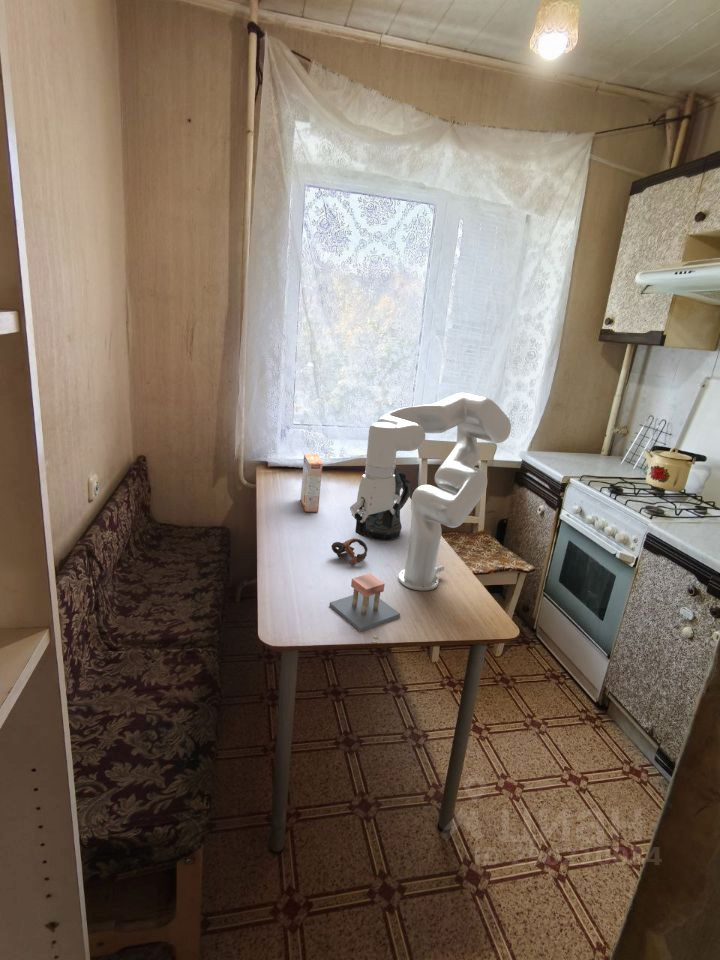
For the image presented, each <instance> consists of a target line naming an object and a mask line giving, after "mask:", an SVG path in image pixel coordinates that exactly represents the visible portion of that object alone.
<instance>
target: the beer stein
mask: <svg viewBox="0 0 720 960" xmlns="http://www.w3.org/2000/svg"><path fill="white" fill-rule="evenodd" d="M394 475H395V494H396V495H398V496H400V497H401V500H400V502H399V503H398V507H397V509H396V510H395V514H394V515H393V520H392V528H388V527H386V526H384V525H382V521H383V513H384V511H382V512H379V513H375V514H370V515H368V517H367V518H366V520H365V521H364V522H366V529H365V536H364V537H367V538H369V539H373V540H378V541H391V540H394V539H397V538H398V537H399V536H400V533H401V531H402V529H403V527H402V523H401V510H402V508H403V507H404V506H405V505H406V503H407V501H408V500H409V498H410V496H411V491H412V487H411V481H410V480H409V479H407V476H406V474H405V473H403V472H401V471H397V470H396V468H395V469H394ZM401 490H402V492H401ZM364 510H365V509H364ZM365 511H366V510H365ZM363 514H364V513H362V515H361V517H362V516H363Z"/></svg>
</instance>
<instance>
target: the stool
mask: <svg viewBox="0 0 720 960" xmlns="http://www.w3.org/2000/svg"><path fill="white" fill-rule="evenodd" d="M385 585H386V584H385V583H384V582H383V581H381V580H380V579H379V578H377V577H376V576H374V575H373V574H372V573H367V574H363V575H360V576H356V577H353V578H351V584H350V587H351V588H352V589H353V594H352V595H353V601H352V607H354V608H356V607H357V602H358V593H360V594H362V595H363V603H362V611H361V614H362V615H366V613H367V605H368V603H369V596H371V595H375V598H374V606H373V610H374V611H378V607H379V599H381V593H383V592H384V591H385Z"/></svg>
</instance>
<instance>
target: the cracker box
mask: <svg viewBox="0 0 720 960" xmlns="http://www.w3.org/2000/svg"><path fill="white" fill-rule="evenodd" d="M323 465H324V464H323V462H322V460H321V458H320V457H319V455H318V454H316V453H304V454H303V465H302V466H303V467H302V479H301V488H300V490H301V491H300V502H301V505H302V507H303V510H304V512H305V513H306V512H307V513H308V512H309V513H310V512H311V513H318V512H319V509H320V508H319V507H320V506H319V505H320V494H321V485H322V475H323V474H322V473H323Z"/></svg>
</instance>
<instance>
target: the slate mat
mask: <svg viewBox="0 0 720 960" xmlns="http://www.w3.org/2000/svg"><path fill="white" fill-rule="evenodd" d="M374 598H375V594H374V595H371V596H369V603H368V605H367V613H366V615H362V614H361V611H362V603H363V595H362V594H360V593H358V602H357V607H356V608H354V607H352V601H353V594H352V595H349V596H347V597H343V598H340V599H336V600H333V601H330V602H329V607H330V608H332V609H333V610H334V611H335V612H336V613H337V614H339V615H340V616H341V617H342V618H343V619H344V620H346V621H347V622H348V623H350V625H351V626H353V627H355V629H356V630H358V631H359V632H363V631H365V630H368V629H371V628H374V627H376V626H379V625H381V624H384V623H386V622H389V621H392V620H395V619H397V618H399V617H400V616H401V613H400V612H399V611H397V610H396V609H395V608H393V607H392V606H390V605H389V603H387V602H385V601H384V600H383V599H381V598H380V599H379V607H378V611H374V610H373V606H374Z"/></svg>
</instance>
